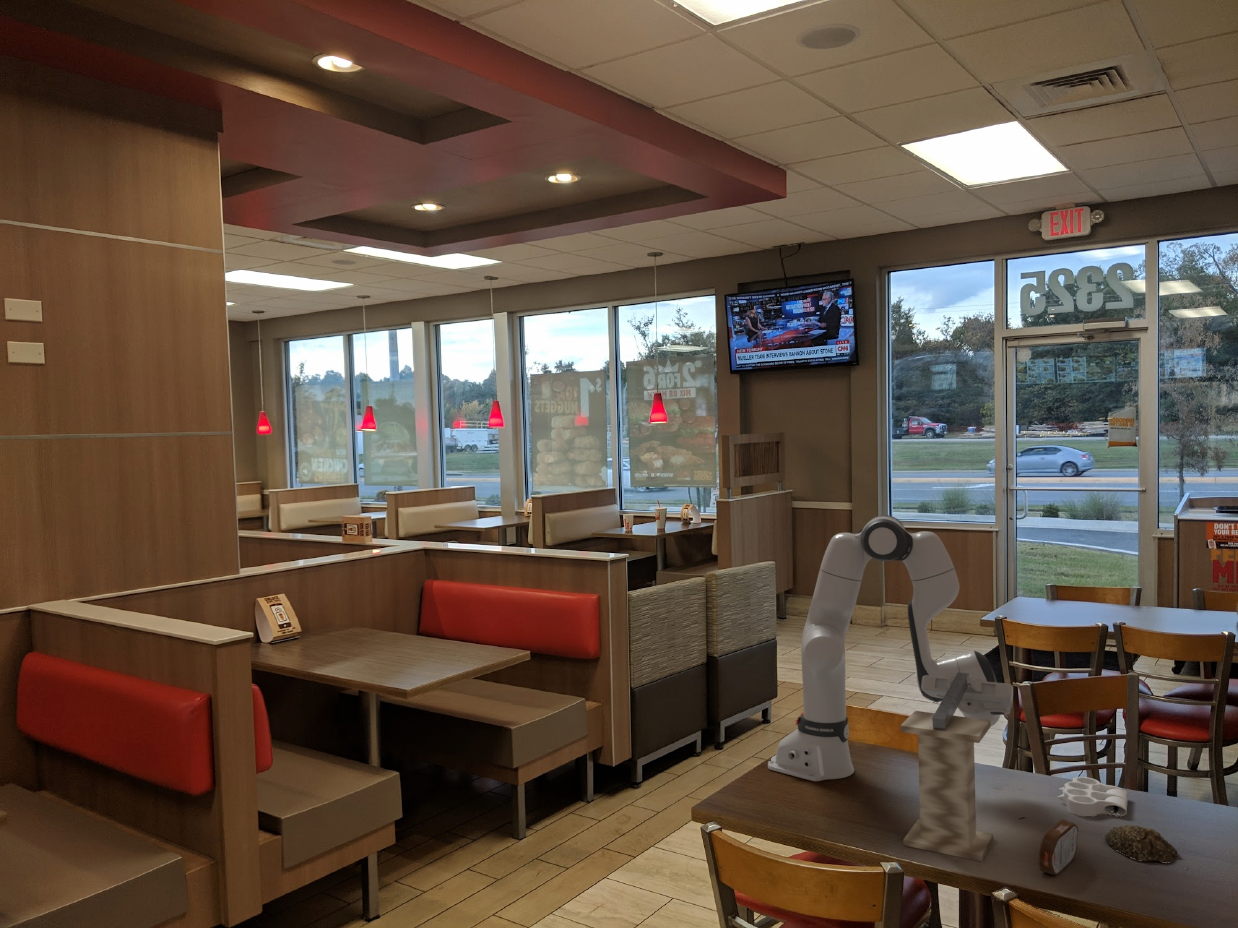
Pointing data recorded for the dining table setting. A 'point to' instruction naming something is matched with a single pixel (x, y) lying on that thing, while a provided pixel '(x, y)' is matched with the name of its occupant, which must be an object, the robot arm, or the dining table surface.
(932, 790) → the shelf stand
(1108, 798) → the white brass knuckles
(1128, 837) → the bread roll
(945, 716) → the bar
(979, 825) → the dining table surface
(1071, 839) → the tin
